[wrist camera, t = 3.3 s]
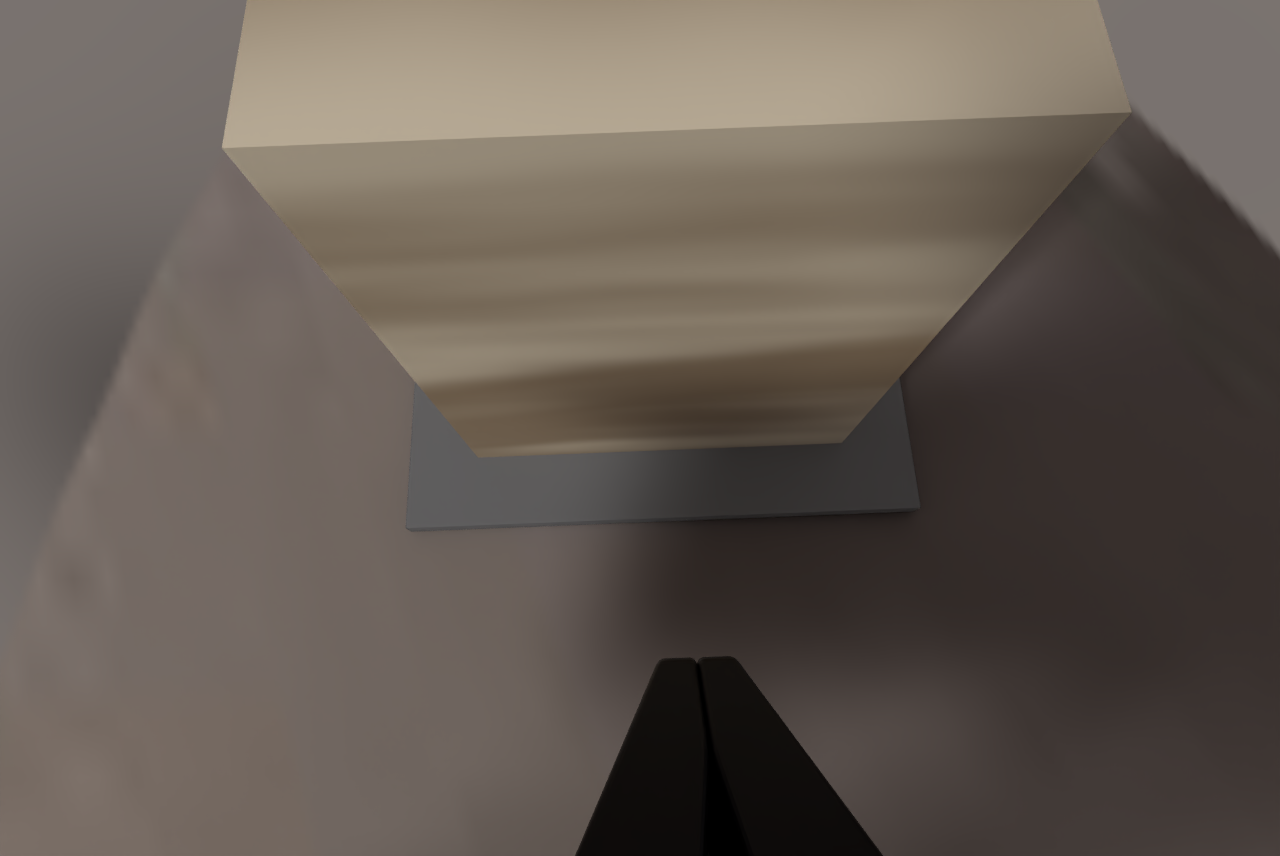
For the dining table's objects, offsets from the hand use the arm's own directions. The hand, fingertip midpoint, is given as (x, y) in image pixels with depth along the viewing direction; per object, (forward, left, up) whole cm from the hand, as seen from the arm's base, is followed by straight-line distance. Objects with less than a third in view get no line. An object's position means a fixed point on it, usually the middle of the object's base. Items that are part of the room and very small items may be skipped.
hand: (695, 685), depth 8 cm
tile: (+6, -1, -7) cm, 9 cm away
